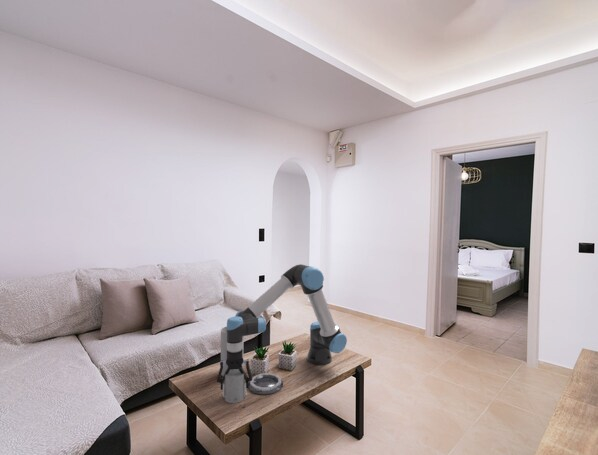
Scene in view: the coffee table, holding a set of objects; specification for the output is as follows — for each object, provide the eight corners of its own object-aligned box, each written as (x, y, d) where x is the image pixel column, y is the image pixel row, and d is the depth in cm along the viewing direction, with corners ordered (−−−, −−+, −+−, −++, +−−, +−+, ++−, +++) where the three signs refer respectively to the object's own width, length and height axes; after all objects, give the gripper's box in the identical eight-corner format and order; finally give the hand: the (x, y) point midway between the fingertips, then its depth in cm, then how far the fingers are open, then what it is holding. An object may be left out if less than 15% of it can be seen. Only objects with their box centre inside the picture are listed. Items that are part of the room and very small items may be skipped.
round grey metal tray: (282, 376, 175) (282, 371, 175) (283, 393, 157) (283, 388, 157) (249, 377, 173) (249, 373, 173) (247, 395, 155) (247, 390, 155)
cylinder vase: (230, 381, 169) (230, 334, 169) (216, 374, 177) (216, 329, 176) (248, 372, 179) (248, 328, 179) (233, 366, 187) (233, 324, 186)
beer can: (221, 402, 150) (221, 376, 149) (228, 391, 159) (228, 367, 159) (241, 403, 148) (241, 378, 148) (247, 392, 158) (247, 368, 158)
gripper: (209, 353, 148) (210, 400, 149) (257, 352, 151) (257, 398, 151) (212, 347, 156) (212, 392, 156) (258, 345, 158) (257, 389, 159)
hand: (234, 395), depth 154 cm, fingers closed on beer can, 9 cm apart
